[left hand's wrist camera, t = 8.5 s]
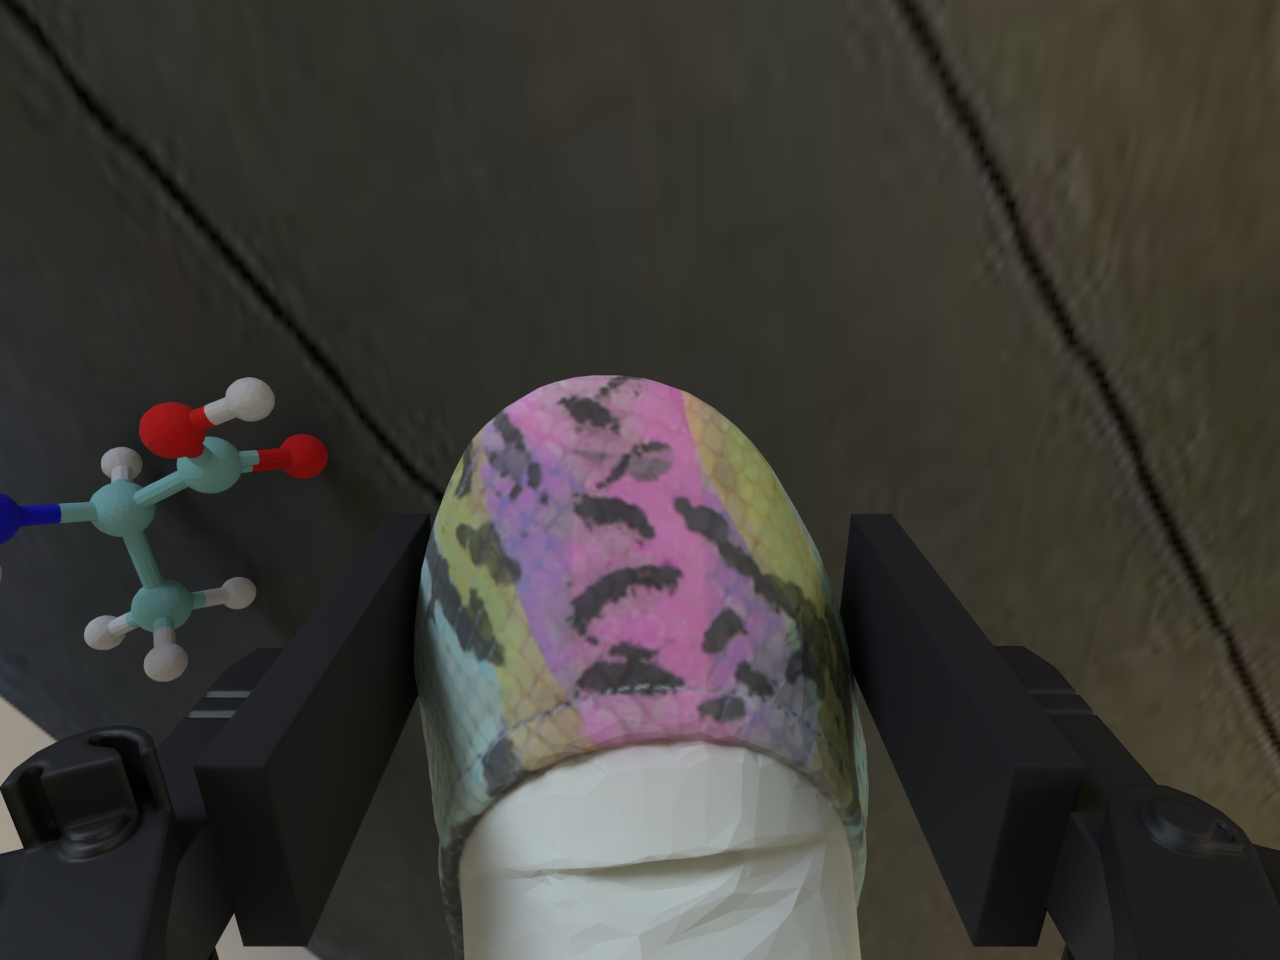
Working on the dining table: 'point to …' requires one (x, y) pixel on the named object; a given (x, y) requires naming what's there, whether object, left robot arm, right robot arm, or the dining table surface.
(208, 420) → the molecular model
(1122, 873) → the left robot arm
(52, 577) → the dining table surface
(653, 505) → the ballet flat
